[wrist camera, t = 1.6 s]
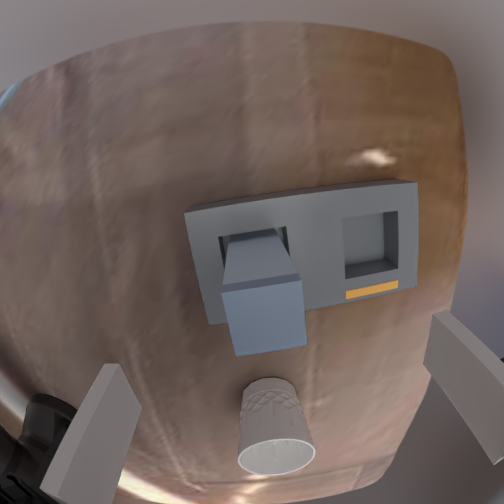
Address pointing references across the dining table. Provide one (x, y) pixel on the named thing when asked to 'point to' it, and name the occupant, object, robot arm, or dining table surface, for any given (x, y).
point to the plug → (262, 294)
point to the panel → (317, 239)
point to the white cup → (273, 429)
